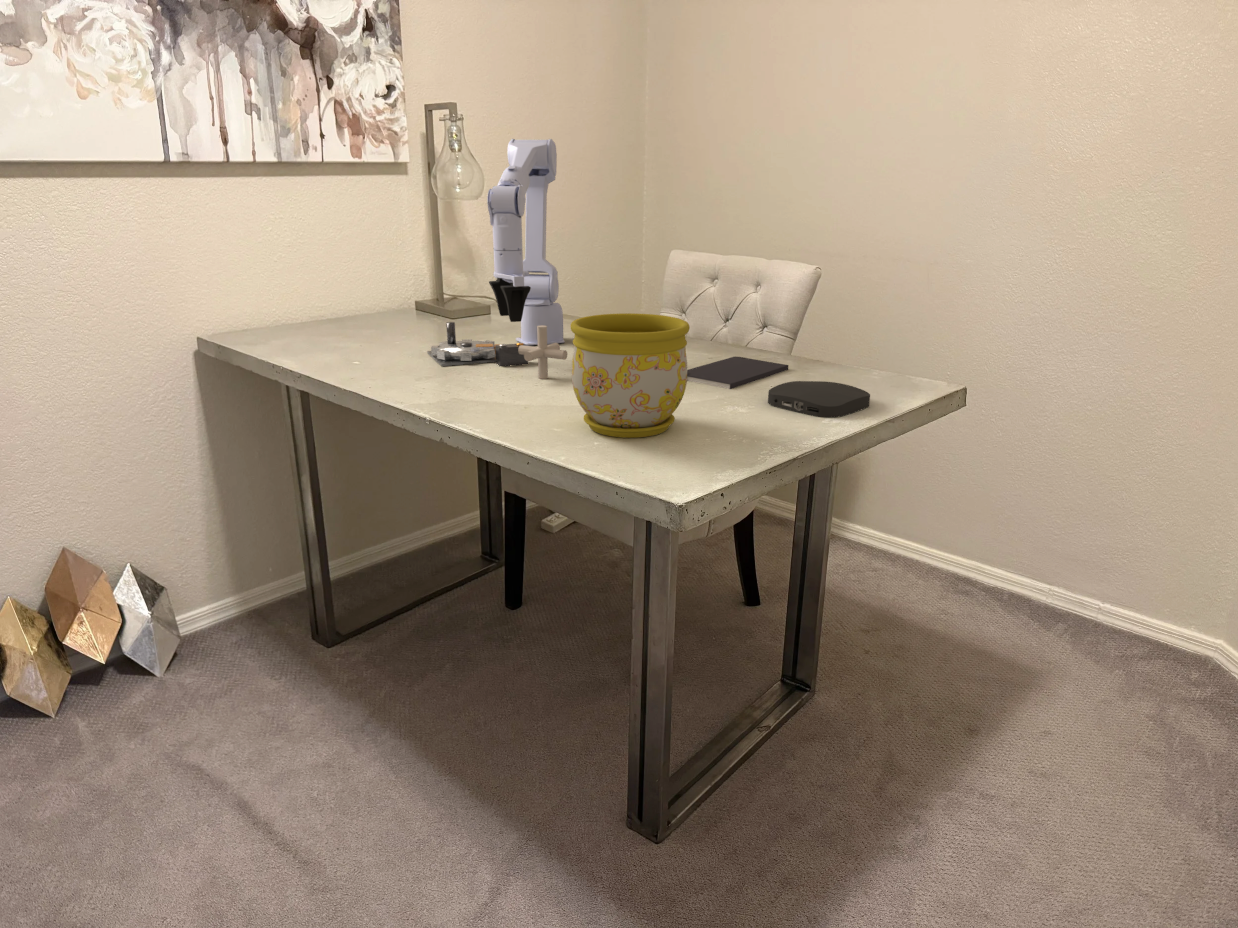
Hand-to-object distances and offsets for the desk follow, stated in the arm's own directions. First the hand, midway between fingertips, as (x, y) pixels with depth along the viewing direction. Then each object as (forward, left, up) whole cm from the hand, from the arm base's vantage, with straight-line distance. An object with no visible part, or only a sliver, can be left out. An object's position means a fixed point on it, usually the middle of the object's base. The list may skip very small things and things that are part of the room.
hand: (510, 318), depth 172 cm
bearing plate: (+7, -10, -9) cm, 15 cm away
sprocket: (+7, -10, -9) cm, 15 cm away
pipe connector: (-2, +14, -10) cm, 17 cm away
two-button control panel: (0, 0, -10) cm, 10 cm away
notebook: (-38, +25, -10) cm, 46 cm away
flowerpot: (-4, +50, -10) cm, 51 cm away
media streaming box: (-40, +50, -10) cm, 65 cm away
